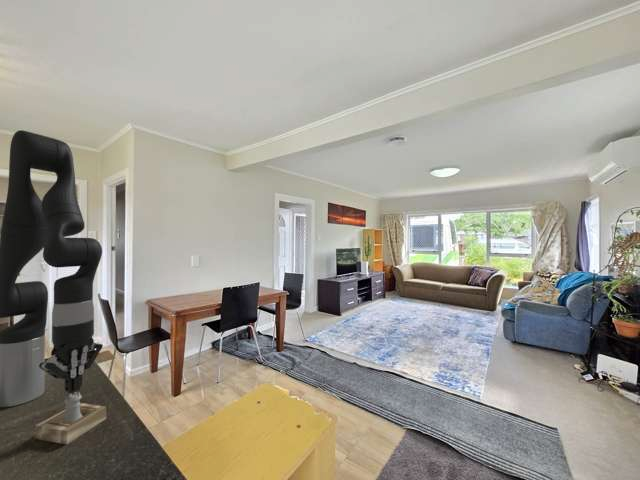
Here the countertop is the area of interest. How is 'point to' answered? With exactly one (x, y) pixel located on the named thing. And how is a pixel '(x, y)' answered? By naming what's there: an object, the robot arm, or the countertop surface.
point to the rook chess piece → (72, 408)
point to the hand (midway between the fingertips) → (73, 391)
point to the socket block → (67, 433)
